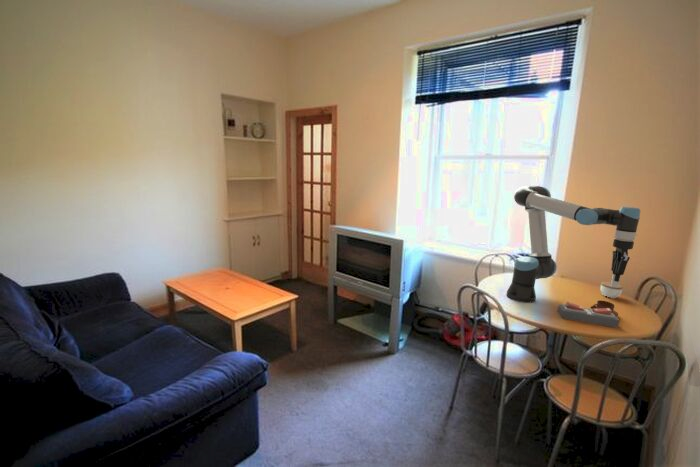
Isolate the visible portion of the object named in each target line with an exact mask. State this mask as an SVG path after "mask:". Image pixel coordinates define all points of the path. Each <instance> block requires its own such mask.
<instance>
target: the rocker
mask: <svg viewBox="0 0 700 467" xmlns="http://www.w3.org/2000/svg"><path fill="white" fill-rule="evenodd" d="M565 305H568V306H569V307H572V308H575V309H577V310H581V311H583V310H584V309H583V308H584V307H583V306H581V305H577V304H575V303H573V302H570V301H566V303H565ZM582 307H583V308H582Z"/></svg>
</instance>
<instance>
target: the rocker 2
mask: <svg viewBox="0 0 700 467" xmlns="http://www.w3.org/2000/svg"><path fill="white" fill-rule="evenodd" d="M593 311H594V312H595V313H599V314H601V313H612V310H611V309H610V308H594V309H593Z"/></svg>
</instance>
